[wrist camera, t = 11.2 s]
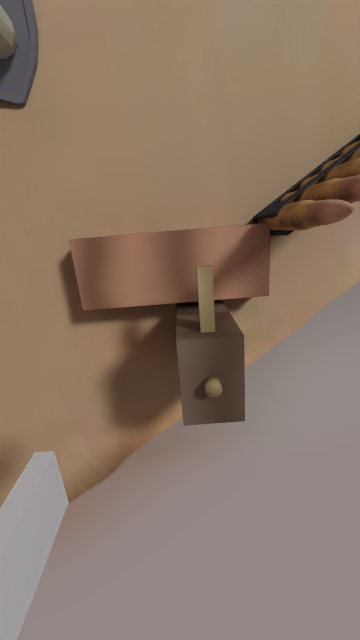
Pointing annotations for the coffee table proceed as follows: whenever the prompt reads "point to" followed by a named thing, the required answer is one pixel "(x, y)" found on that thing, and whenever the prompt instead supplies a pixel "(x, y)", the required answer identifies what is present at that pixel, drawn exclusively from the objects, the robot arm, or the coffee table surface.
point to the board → (171, 266)
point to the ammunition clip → (318, 195)
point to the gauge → (209, 357)
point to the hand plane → (17, 50)
